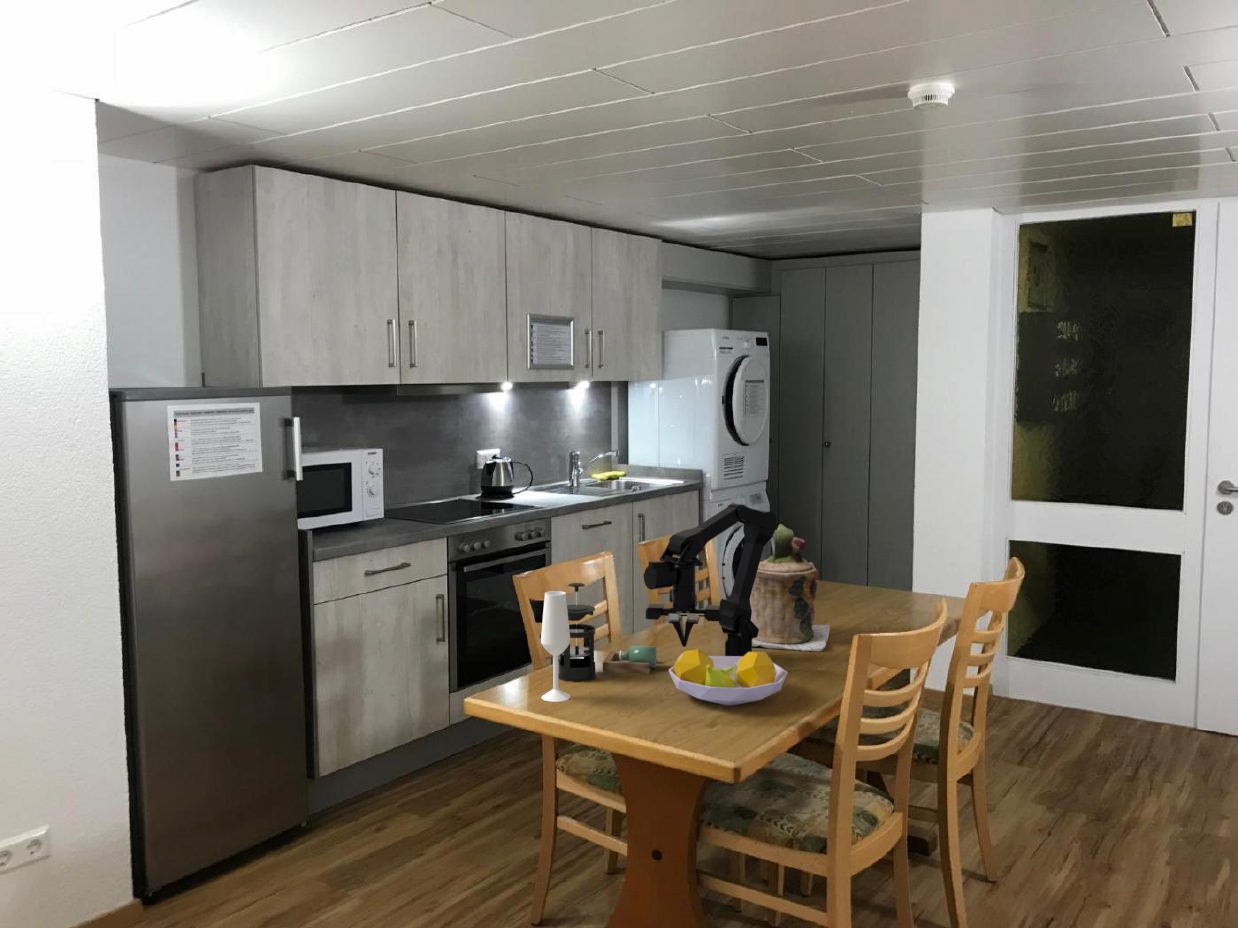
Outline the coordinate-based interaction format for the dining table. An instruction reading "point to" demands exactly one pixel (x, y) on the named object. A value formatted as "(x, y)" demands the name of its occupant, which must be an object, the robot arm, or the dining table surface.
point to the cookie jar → (786, 598)
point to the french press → (578, 666)
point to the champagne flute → (555, 637)
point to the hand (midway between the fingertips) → (684, 646)
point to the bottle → (640, 655)
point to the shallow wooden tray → (623, 665)
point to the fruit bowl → (727, 677)
